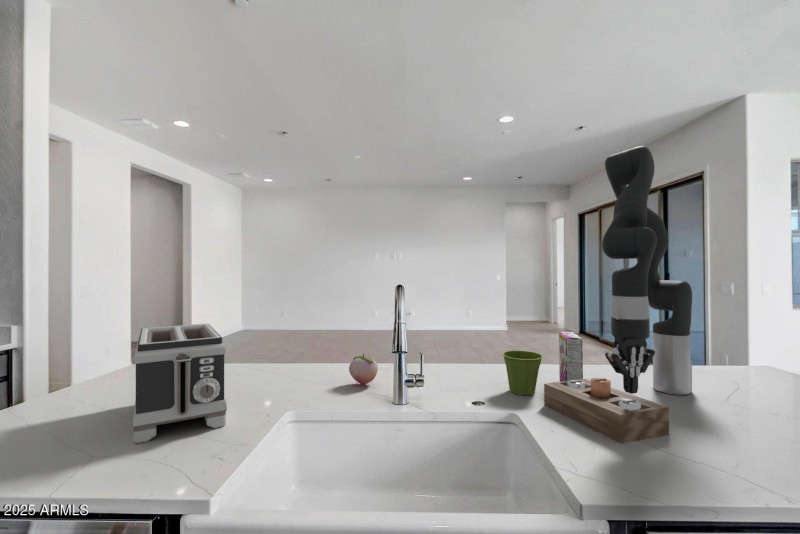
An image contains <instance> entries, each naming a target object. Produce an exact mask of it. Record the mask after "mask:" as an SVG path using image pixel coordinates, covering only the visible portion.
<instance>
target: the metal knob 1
mask: <svg viewBox="0 0 800 534" xmlns="http://www.w3.org/2000/svg"><path fill="white" fill-rule="evenodd" d="M567 386H568V387H570V388H573V389H575V390H576V389H584V388H585V383H584V382H582V381H578V380H568V381H567Z"/></svg>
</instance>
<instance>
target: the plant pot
mask: <svg viewBox="0 0 800 534" xmlns="http://www.w3.org/2000/svg"><path fill="white" fill-rule="evenodd" d="M501 355H502V356H503V359H504V364H505V367H506V368H505V369H506V372H507V373H506V374H507V381H508V386H509V387H508V388H509V391H510V392H511V393H513V394H516V395H518V394H521V395H520V396H524V395H528V396H532V395H534V394H535V393H536V387H537V381H538V377H539V370H540V367H541V364H542V359H543V358H544V355H543V354H542V353H539V352H537V351H530V350H519V349H517V350H505V351H503V352H502V353H501ZM531 394H532V395H531Z"/></svg>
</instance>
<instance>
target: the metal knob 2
mask: <svg viewBox="0 0 800 534" xmlns="http://www.w3.org/2000/svg"><path fill="white" fill-rule="evenodd" d="M618 406H619V407H622V408H624V409H627V410H630V411H635V410H641V403H640V402H638V401H636V400H634V399H619V400H618Z"/></svg>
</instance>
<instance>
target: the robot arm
mask: <svg viewBox="0 0 800 534" xmlns="http://www.w3.org/2000/svg"><path fill="white" fill-rule="evenodd" d="M604 168H605V173H606V176H607V178H608V181H609V185H610V186H611V189H612V191H613V193H614V196H615V198H616V200H615V203H614V207H613V214H612V215H613V218H612V221H611V223H610V225H609V226H608V228H607V230H606V232H605V234H604V236H603V238H602V243H601V245H602V251H603V254H604V255H605V256H606V257H607V258H610V259H613V260H621V259H622V260H626V259H627V260H629V259H631V260H632V259H636V261H637V262H636V264H635V265H633V266H631V267H629V268H624V269H617V270H614V271H613V272H612V274H611V303H610V330H611V331H610V333H611V335H612V336H613V338H614V341H613V345H612V346H613V349H611V351H610V352H609V351H606V352H605V353H604V356H605V358H606V359H607V362H609V364H610V366H611V367H612V368H613V370H614V372H615V373H617V374H620V375H622V377H623V378H622V379H623V382H622V383H623V384H622V385H623V389H624V392H626V393H629V394H632V395H633V394H637V393H638V392H639V390H638V389H639V377H640V376H641V374H645V373H646V372H647V370H648V367H650V364H651V362H652V388H653V390H656V391H658V392H661V393H665V394H668V395H669V394H670V395H679V396H685V395H690V394H691V393H692V392H693V361H692V359H691V325H692V308H693V306H692V305H693V290H692V287H691V285H690V283H688V281H685V280H673V279H672V280H668V279H667V280H663V279H661V276H660V275H659V274H660V273H659V265H660V263H661V261H662V259H663V257H664V256H665V253H666V251H667V249H668V247H669V246H668V245H669V243H670V242H669V240H670V239H669V235H668V232H667V228H666V226H665V225H666V224H665V222H664V220H663V218H662V217H661V216H660V215H659V214H658V213H656V211H654V210H653V209H651V208H650V207H648V200H649V199H648V198H649V193H650V191H651V187H652V183H653V180H654V175H655V161H654V157H653V154H652V152H651V150H650V149H649V147H648V146H645V145H641V146H636V147H633V148H629V149H627V150H623V151H620V152H617V153H614V154H612V155H609V156H608V157H607V158H606V159H605V161H604ZM650 308H651V309H653V310H657V311H666V312H672V313H671V317H669V318H668V319H666V320H661V321H660V320H659V321H657V322H654V323H653V324H652V349H650V348H649V347H648V342H647V341H646V339H649V338H650V336H651V335H650V334H651V333H650V332H651V331H650V330H651V329H650V328H651V327H650V323H651V322H650Z"/></svg>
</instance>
